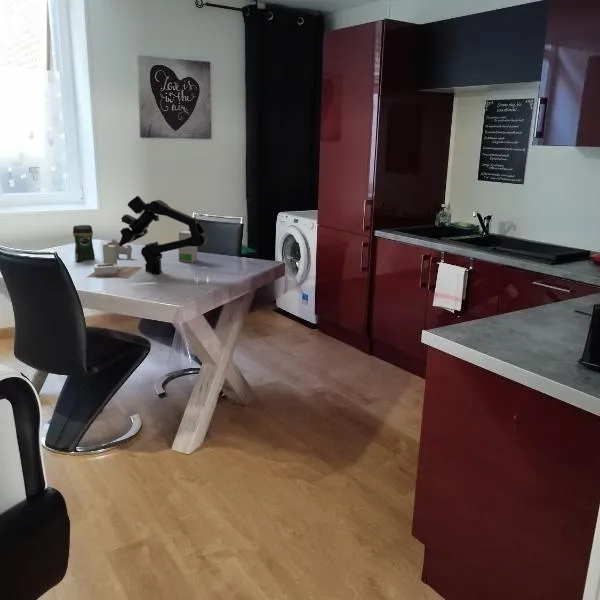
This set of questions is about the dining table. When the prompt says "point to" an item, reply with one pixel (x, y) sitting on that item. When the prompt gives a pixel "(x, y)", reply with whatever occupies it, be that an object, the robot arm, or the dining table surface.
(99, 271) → the keyed slot
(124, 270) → the walnut board
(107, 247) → the keyed peg
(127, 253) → the dog figurine
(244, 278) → the dining table surface
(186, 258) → the skincare box
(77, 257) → the coffee jar
